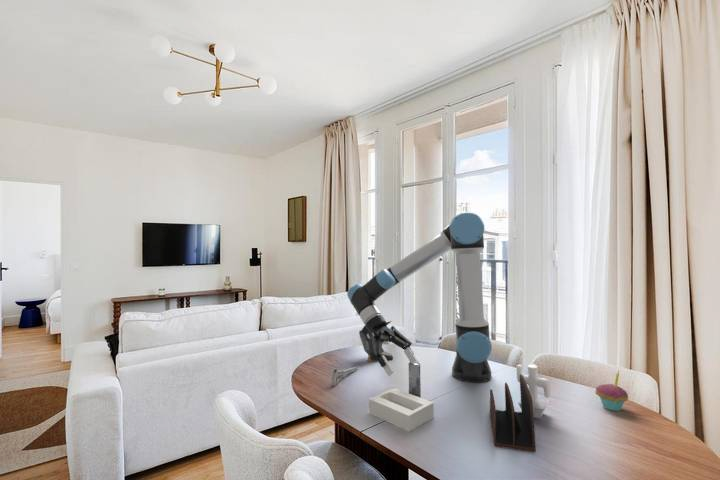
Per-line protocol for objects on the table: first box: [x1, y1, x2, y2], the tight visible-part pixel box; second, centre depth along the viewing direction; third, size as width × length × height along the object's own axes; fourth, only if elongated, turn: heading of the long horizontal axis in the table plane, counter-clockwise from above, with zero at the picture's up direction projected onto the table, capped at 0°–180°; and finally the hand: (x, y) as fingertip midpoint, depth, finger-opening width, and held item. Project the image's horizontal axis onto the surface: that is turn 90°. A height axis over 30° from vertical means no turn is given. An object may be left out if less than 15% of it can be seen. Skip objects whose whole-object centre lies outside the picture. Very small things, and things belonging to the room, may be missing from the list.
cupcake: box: [594, 370, 629, 412], centre depth 115 cm, size 9×8×12 cm
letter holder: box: [489, 374, 536, 453], centre depth 102 cm, size 10×20×14 cm, turn 163°
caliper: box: [331, 366, 358, 387], centre depth 144 cm, size 21×1×6 cm, turn 156°
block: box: [368, 387, 435, 432], centre depth 111 cm, size 16×12×4 cm
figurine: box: [516, 363, 551, 420], centre depth 111 cm, size 7×9×15 cm
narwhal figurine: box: [358, 320, 394, 362], centre depth 167 cm, size 14×15×18 cm
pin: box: [407, 361, 422, 398], centre depth 123 cm, size 4×4×12 cm
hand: (404, 369), depth 126 cm, fingers open, 13 cm apart
